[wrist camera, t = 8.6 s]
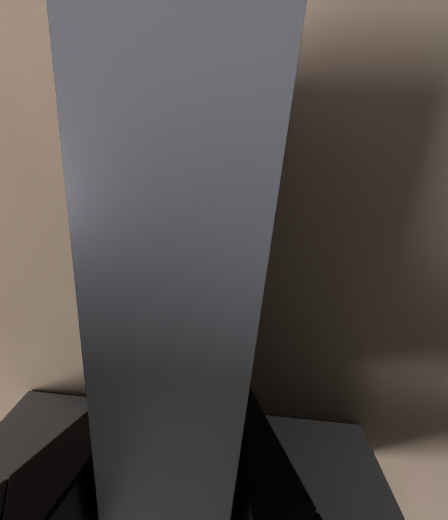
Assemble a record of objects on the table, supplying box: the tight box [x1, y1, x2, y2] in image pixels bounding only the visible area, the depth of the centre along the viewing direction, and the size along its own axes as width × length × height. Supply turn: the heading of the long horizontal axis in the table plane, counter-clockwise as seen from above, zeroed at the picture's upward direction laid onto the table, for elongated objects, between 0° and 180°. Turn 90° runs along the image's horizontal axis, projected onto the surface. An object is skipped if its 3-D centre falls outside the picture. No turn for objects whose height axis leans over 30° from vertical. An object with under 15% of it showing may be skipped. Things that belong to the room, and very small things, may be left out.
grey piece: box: [0, 0, 405, 520], centre depth 7 cm, size 12×12×4 cm
